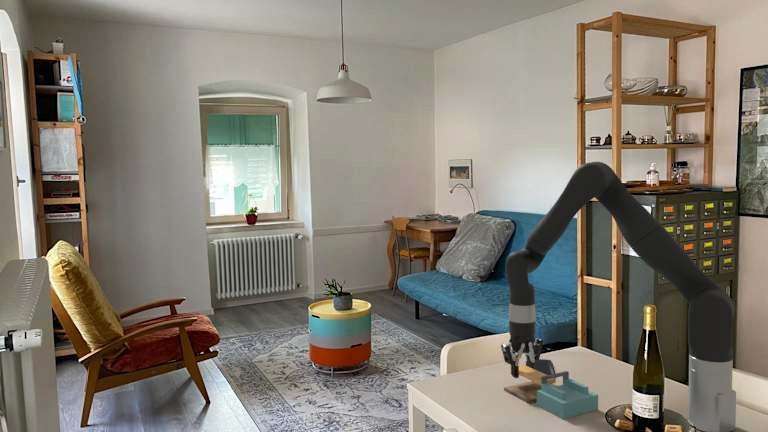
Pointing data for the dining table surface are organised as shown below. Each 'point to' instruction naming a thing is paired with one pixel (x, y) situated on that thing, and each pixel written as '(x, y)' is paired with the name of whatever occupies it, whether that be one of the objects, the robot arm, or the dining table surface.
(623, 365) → the dining table surface
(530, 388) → the walnut mat
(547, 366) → the phone
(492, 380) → the dining table surface
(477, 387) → the dining table surface
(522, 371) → the ticket card
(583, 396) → the ticket dispenser
